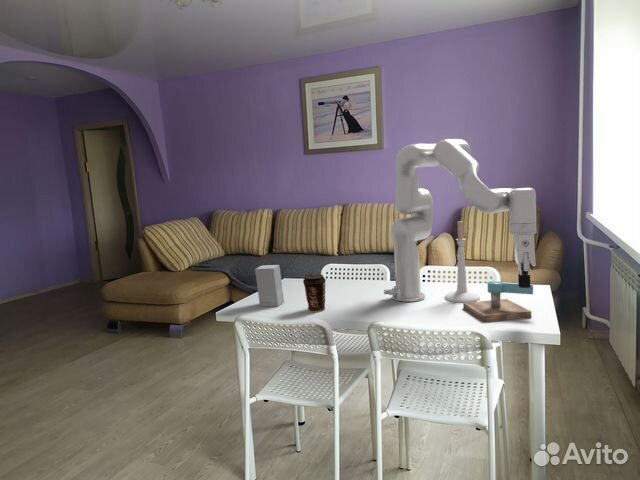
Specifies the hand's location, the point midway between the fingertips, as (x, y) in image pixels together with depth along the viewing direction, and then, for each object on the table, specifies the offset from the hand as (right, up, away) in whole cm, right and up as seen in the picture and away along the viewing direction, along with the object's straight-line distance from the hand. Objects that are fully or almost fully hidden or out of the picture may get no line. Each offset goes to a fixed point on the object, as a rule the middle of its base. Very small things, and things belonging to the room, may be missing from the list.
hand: (524, 286), depth 143 cm
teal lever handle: (-1, -3, +9) cm, 10 cm away
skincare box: (-83, -12, +41) cm, 94 cm away
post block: (-4, -10, +13) cm, 17 cm away
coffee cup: (-65, -12, +30) cm, 72 cm away
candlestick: (-9, -8, +33) cm, 35 cm away
